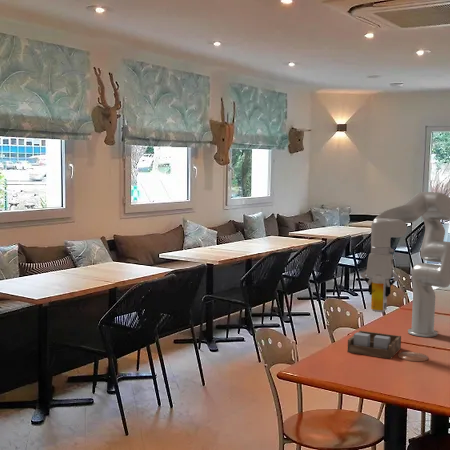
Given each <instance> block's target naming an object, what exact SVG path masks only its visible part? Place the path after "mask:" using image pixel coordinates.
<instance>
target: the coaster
mask: <svg viewBox="0 0 450 450" xmlns="http://www.w3.org/2000/svg"><path fill="white" fill-rule="evenodd" d="M397 357H398V358H399V359H401V360H404V361H408V362H417V363H419V362H426V361H428V360H429V358H428V357H429V356H428V355H426V354H424V353H421V352H416V351H402V352H398V354H397Z"/></svg>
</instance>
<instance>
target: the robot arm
mask: <svg viewBox="0 0 450 450" xmlns="http://www.w3.org/2000/svg"><path fill="white" fill-rule="evenodd" d="M420 217H421V218H422V219H423V223H424V230H425V231H424V236H423V239H422V244H421V248H420V253H419V254H420V258H421V259H422V260H424V261H426V262H427V263H426V262H419V263H416V264H415V265H414V266H413V267H412V268H411V280H412V308H411V309H412V310H411V315H412V316H411V328H408V329H407V333H408V334H410V335H412V336H415V337H416V336H417V337H421V338H431V337H436V336H438V331H437V330H435V316H436V315H435V313H436V292H435V289H434V288H433V287H437V288H449V286H450V241H444V240H445V235H446V230H445V227H444V225H443V223H442V222H441V221H450V197H449V196H448V195H447V194H444V193H442V192H438V191H436V192H435V191H433V192H432V191H420V192H417V193H416V194H414V195H413V196H412V197H410V199H408V200H407V201H406V202H405V203H404V204H402V205H399V206H395V207H392V208H389V209H386V210H384V211H383V212H380V213H379V214H378V215H377V216H376V217H375V218H374V219H373V220H372V222H371V226H370V230H371V234H370V235H371V236H370V253H369V254H368V258H367V265H366V269H365V270H364V271H363V272H362V273H361V274H360V278H362V279H363V280H364V281H365V282H366V283H367V285H368V289H367V291H368V293H369V295H370V296H372V278H373V276H374V275H382V276H383V277H384V279H385V280H386V284H387V287H386V297H387V298H388V297H389V296H390V295H391V292H392V291H391V288H392V287H391V286H393V284H395V283H396V282H397V281H398V280H399V279H400V276H398V274H397V273H396V272H395V271H394V269H395V268H394V257H393V254H392V253H394V251H395V249H394V248H392V247H391V238H401V237H403V236H404V235H406V233H407V230H408V226H407V224H410V223H414V222H416V221H417V220H418V219H420ZM428 262H431V263H428ZM433 263H440V264H433ZM391 279H392V280H391Z"/></svg>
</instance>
